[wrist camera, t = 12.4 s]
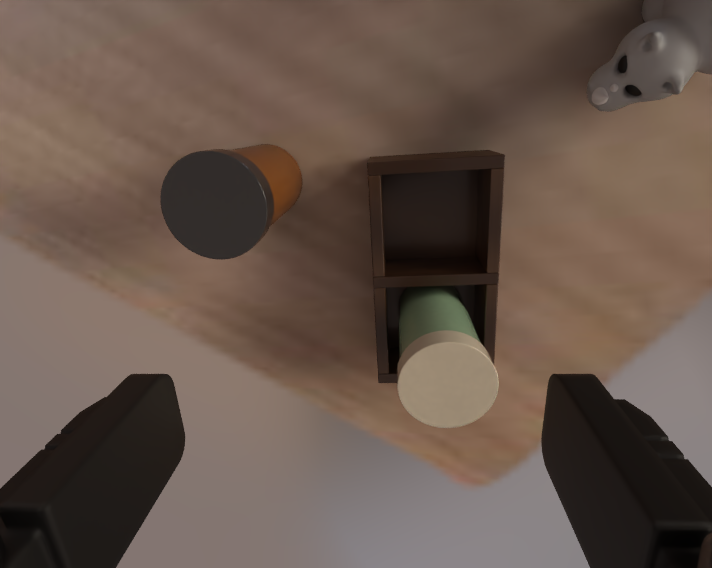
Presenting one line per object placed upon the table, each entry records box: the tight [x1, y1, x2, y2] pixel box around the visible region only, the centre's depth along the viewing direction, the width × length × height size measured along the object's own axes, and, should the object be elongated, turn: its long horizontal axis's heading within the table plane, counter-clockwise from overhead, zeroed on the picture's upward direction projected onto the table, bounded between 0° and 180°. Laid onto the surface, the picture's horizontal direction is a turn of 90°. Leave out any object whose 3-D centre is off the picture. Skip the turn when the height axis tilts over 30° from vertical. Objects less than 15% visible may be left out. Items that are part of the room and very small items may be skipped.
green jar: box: [397, 285, 499, 428], centre depth 30 cm, size 6×6×11 cm
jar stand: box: [367, 150, 505, 383], centre depth 32 cm, size 16×8×5 cm, turn 4°
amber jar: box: [161, 144, 302, 259], centre depth 28 cm, size 6×6×11 cm
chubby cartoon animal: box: [587, 0, 712, 112], centre depth 24 cm, size 7×12×8 cm, turn 125°
